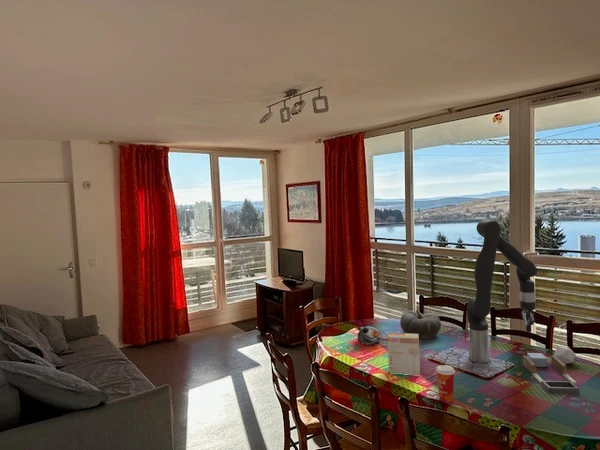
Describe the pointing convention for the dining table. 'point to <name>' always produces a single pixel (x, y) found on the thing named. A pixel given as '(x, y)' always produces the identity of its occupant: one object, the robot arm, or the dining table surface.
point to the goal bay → (563, 375)
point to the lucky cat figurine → (369, 335)
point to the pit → (560, 387)
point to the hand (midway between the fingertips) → (528, 331)
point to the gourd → (420, 324)
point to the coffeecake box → (403, 353)
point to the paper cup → (445, 382)
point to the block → (538, 359)
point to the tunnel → (554, 362)
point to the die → (564, 354)
